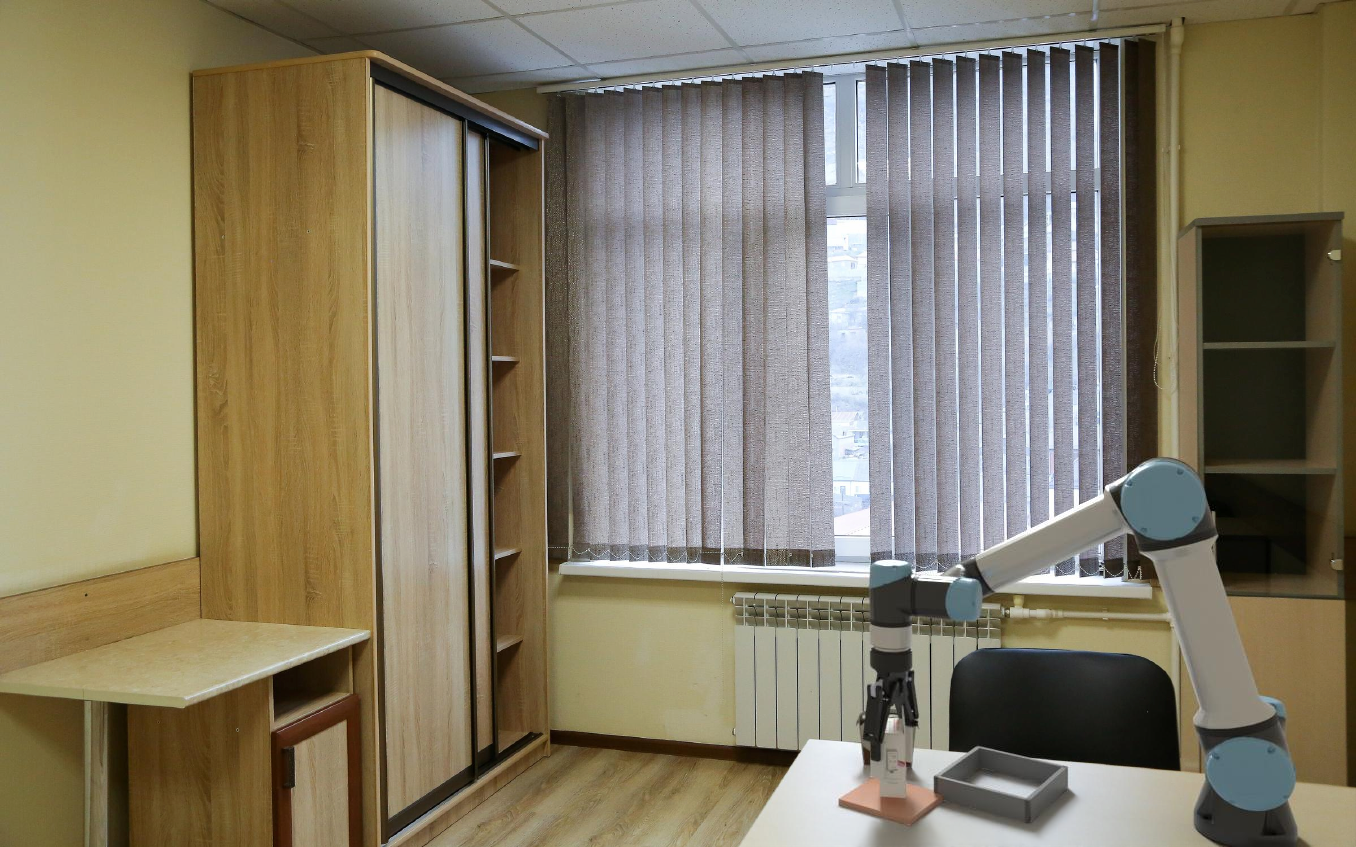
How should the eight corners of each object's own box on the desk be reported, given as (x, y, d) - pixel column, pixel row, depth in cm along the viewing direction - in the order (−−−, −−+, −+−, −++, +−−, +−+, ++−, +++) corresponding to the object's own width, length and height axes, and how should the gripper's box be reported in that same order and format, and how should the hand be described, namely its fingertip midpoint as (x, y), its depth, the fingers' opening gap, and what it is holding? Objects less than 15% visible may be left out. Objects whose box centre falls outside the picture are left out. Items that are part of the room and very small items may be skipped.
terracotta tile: (944, 798, 180) (944, 793, 180) (909, 824, 169) (909, 819, 169) (876, 780, 189) (876, 774, 189) (838, 803, 178) (838, 798, 178)
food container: (917, 757, 200) (917, 708, 200) (919, 768, 194) (919, 718, 194) (856, 754, 202) (855, 706, 202) (856, 765, 196) (855, 715, 196)
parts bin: (1067, 787, 184) (1067, 766, 184) (1029, 823, 169) (1029, 800, 169) (977, 765, 195) (977, 745, 195) (933, 797, 180) (933, 775, 180)
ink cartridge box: (878, 778, 183) (877, 700, 183) (905, 780, 182) (904, 701, 182) (878, 797, 175) (877, 715, 175) (906, 798, 174) (905, 716, 174)
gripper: (900, 631, 189) (901, 746, 189) (841, 656, 172) (842, 782, 172) (937, 637, 184) (938, 755, 185) (879, 663, 167) (881, 793, 168)
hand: (892, 768), depth 179 cm, fingers closed on ink cartridge box, 9 cm apart
